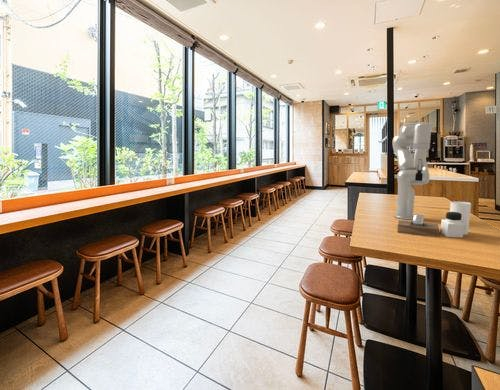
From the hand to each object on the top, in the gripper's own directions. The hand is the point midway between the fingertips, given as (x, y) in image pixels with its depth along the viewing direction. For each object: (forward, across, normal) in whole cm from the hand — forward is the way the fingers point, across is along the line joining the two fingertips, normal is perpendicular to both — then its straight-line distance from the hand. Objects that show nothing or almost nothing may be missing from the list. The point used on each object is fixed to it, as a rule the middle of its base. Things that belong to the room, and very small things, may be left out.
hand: (418, 180), depth 139 cm
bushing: (+27, +7, +1) cm, 28 cm away
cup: (+27, -1, +19) cm, 33 cm away
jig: (+27, +7, +1) cm, 28 cm away
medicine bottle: (+27, +7, +15) cm, 32 cm away
